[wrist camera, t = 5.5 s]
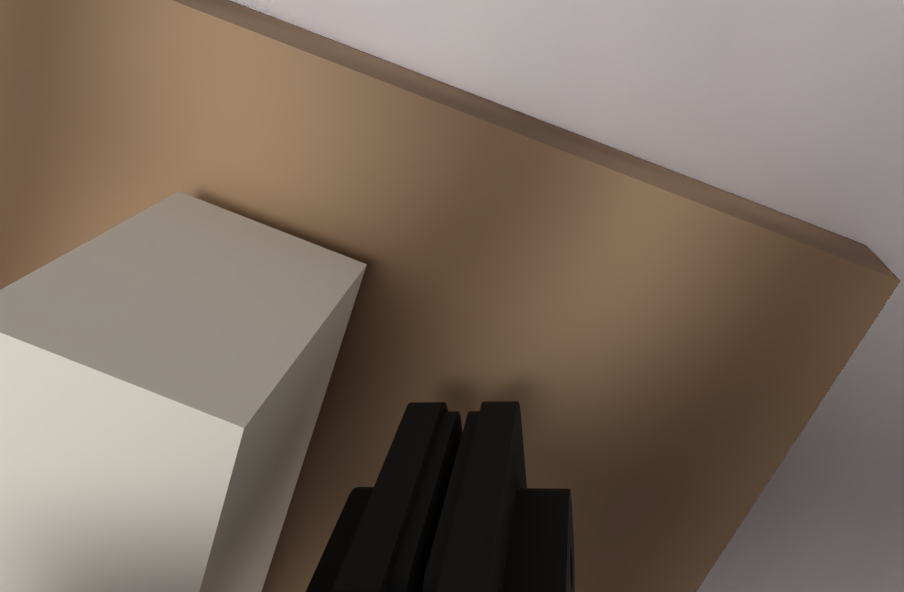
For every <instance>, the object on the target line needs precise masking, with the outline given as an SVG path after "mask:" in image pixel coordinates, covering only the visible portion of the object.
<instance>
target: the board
mask: <svg viewBox="0 0 904 592" xmlns="http://www.w3.org/2000/svg"><path fill="white" fill-rule="evenodd" d="M177 192H182V193H185V194H187V195H190V196H192V197H195V198H197V199H200V200H203V201H205V202H208V203H210V204H213V205H215V206H218V207H221V208H223V209H226V210H228V211H231V212H233V213H236V214H239V215H241V216H244V217H246V218H249V219H251V220H254V221H257V222H259V223H262V224H264V225H267V226H269V227H272V228H275V229H277V230H280V231H282V232H285V233H287V234H290V235H293V236H295V237H298V238H300V239H303V240H305V241H308V242H311V243H313V244H316V245H318V246H321V247H323V248H326V249H329V250H331V251H334V252H336V253H339V254H342V255H344V256H347V257H349V258H352V259H354V260H357V261H360V262H362V263H365V264H367V265H366V269H365V272H364V275H363V278H362V281H361V284H360V287H359V290H358V293H357V296H356V300H355V303H354V306H353V309H352V312H351V315H350V318H349V321H348V324H347V328H346V331H345V334H344V337H343V340H342V343H341V346H340V349H339V352H338V356H337V359H336V362H335V365H334V368H333V371H332V374H331V377H330V380H329V384H328V387H327V390H326V393H325V396H324V399H323V402H322V405H321V408H320V412H319V415H318V418H317V421H316V424H315V427H314V430H313V433H312V436H311V440H310V443H309V446H308V449H307V452H306V455H305V458H304V461H303V464H302V468H301V471H300V474H299V477H298V480H297V483H296V486H295V489H294V492H293V495H292V499H291V502H290V505H289V508H288V511H287V514H286V517H285V520H284V523H283V527H282V530H281V533H280V536H279V539H278V542H277V545H276V548H275V551H274V555H273V558H272V561H271V564H270V567H269V570H268V573H267V576H266V579H265V583H264V586H263V589H262V592H306V590H307V588H308V585H309V583H310V581H311V579H312V576H313V574H314V572H315V570H316V568H317V565H318V563H319V561H320V559H321V556H322V554H323V552H324V550H325V548H326V545H327V543H328V541H329V539H330V536H331V534H332V532H333V530H334V528H335V525H336V523H337V521H338V519H339V516H340V514H341V512H342V510H343V508H344V505H345V503H346V501H347V499H348V496H349V495H350V493H351V491H352V490H353V489H354V488H356V487H374V485H375V483H376V480H377V478H378V476H379V473H380V471H381V468H382V466H383V463H384V461H385V458H386V456H387V454H388V451H389V449H390V446H391V444H392V441H393V439H394V436H395V434H396V432H397V429H398V427H399V424H400V422H401V419H402V417H403V414H404V412H405V410H406V407H407V405H408V404H409V403H411V402H445V403H446V405H447V408H448V411H458V412H459V413H460V417H461V424H462V433H463V429H464V425H465V421H466V418H467V414H468V412H469V411H480V407H481V404H482V402H491V401H519V404H520V411H521V422H522V434H523V446H524V458H525V470H526V483H527V488H546V489H570V490H571V500H572V516H573V533H574V561H575V592H696V591H697V589H698V588H699V586H700V585H701V583H702V582H703V580H704V579H705V577H706V576H707V574H708V573H709V571H710V569H711V568H712V566H713V565H714V563H715V562H716V560H717V559H718V557H719V556H720V554H721V553H722V551H723V550H724V548H725V547H726V545H727V544H728V542H729V541H730V539H731V538H732V536H733V535H734V533H735V531H736V530H737V528H738V527H739V525H740V524H741V522H742V521H743V519H744V518H745V516H746V515H747V513H748V512H749V510H750V509H751V507H752V506H753V504H754V503H755V501H756V500H757V498H758V497H759V495H760V493H761V492H762V490H763V489H764V487H765V486H766V484H767V483H768V481H769V480H770V478H771V477H772V475H773V474H774V472H775V471H776V469H777V468H778V466H779V465H780V463H781V462H782V460H783V459H784V457H785V455H786V454H787V452H788V451H789V449H790V448H791V446H792V445H793V443H794V442H795V440H796V439H797V437H798V436H799V434H800V433H801V431H802V430H803V428H804V427H805V425H806V424H807V422H808V421H809V419H810V417H811V416H812V414H813V413H814V411H815V410H816V408H817V407H818V405H819V404H820V402H821V401H822V399H823V398H824V396H825V395H826V393H827V392H828V390H829V389H830V387H831V386H832V384H833V382H834V381H835V379H836V378H837V376H838V375H839V373H840V372H841V370H842V369H843V367H844V366H845V364H846V363H847V361H848V360H849V358H850V357H851V355H852V354H853V352H854V351H855V349H856V348H857V346H858V344H859V343H860V341H861V340H862V338H863V337H864V335H865V334H866V332H867V331H868V329H869V328H870V326H871V325H872V323H873V322H874V320H875V319H876V317H877V316H878V314H879V313H880V311H881V310H882V308H883V306H884V305H885V303H886V302H887V300H888V299H889V297H890V296H891V294H892V293H893V291H894V290H895V288H896V287H897V285H898V284H899V282H900V280H899V279H898V278H897V277H896V276H895V275H894V274H893V273H892V272H891V271H890V270H889V269H888V268H887V267H886V266H885V264H884V263H883V262H882V261H881V260H880V259H879V258H878V257H877V256H876V255H875V254H874V253H873V252H872V251H871V250H870V249H869V248H868V247H867V246H866V245H863V244H861V243H858V242H856V241H853V240H850V239H848V238H845V237H843V236H840V235H837V234H835V233H832V232H830V231H827V230H824V229H822V228H819V227H817V226H814V225H811V224H809V223H806V222H804V221H801V220H798V219H796V218H793V217H791V216H788V215H785V214H783V213H780V212H778V211H775V210H772V209H770V208H767V207H765V206H762V205H759V204H757V203H754V202H752V201H749V200H746V199H744V198H741V197H739V196H736V195H733V194H731V193H728V192H726V191H723V190H720V189H718V188H715V187H713V186H710V185H707V184H705V183H702V182H700V181H697V180H694V179H692V178H689V177H687V176H684V175H681V174H679V173H676V172H674V171H671V170H668V169H666V168H663V167H661V166H658V165H655V164H653V163H650V162H648V161H645V160H642V159H640V158H637V157H635V156H632V155H629V154H627V153H624V152H622V151H619V150H616V149H614V148H611V147H609V146H606V145H603V144H601V143H598V142H596V141H593V140H590V139H588V138H585V137H583V136H580V135H577V134H575V133H572V132H570V131H567V130H564V129H562V128H559V127H557V126H554V125H551V124H549V123H546V122H544V121H541V120H538V119H536V118H533V117H531V116H528V115H525V114H523V113H520V112H518V111H515V110H512V109H510V108H507V107H505V106H502V105H500V104H497V103H494V102H492V101H489V100H487V99H484V98H481V97H479V96H476V95H474V94H471V93H468V92H466V91H463V90H461V89H458V88H455V87H453V86H450V85H448V84H445V83H442V82H440V81H437V80H435V79H432V78H429V77H427V76H424V75H422V74H419V73H416V72H414V71H411V70H409V69H406V68H403V67H401V66H398V65H396V64H393V63H390V62H388V61H385V60H383V59H380V58H377V57H375V56H372V55H370V54H367V53H364V52H362V51H359V50H357V49H354V48H351V47H349V46H346V45H344V44H341V43H338V42H336V41H333V40H331V39H328V38H325V37H323V36H320V35H318V34H315V33H312V32H310V31H307V30H305V29H302V28H299V27H297V26H294V25H292V24H289V23H286V22H284V21H281V20H279V19H276V18H273V17H271V16H268V15H266V14H263V13H260V12H258V11H255V10H253V9H250V8H247V7H245V6H242V5H240V4H237V3H234V2H232V1H229V0H0V290H1V289H3V288H4V287H6V286H8V285H10V284H12V283H13V282H15V281H17V280H19V279H21V278H23V277H24V276H26V275H28V274H30V273H32V272H33V271H35V270H37V269H39V268H41V267H43V266H44V265H46V264H48V263H50V262H52V261H53V260H55V259H57V258H59V257H61V256H62V255H64V254H66V253H68V252H70V251H72V250H73V249H75V248H77V247H79V246H81V245H82V244H84V243H86V242H88V241H90V240H92V239H93V238H95V237H97V236H99V235H101V234H102V233H104V232H106V231H108V230H110V229H111V228H113V227H115V226H117V225H119V224H121V223H122V222H124V221H126V220H128V219H130V218H131V217H133V216H135V215H137V214H139V213H141V212H142V211H144V210H146V209H148V208H150V207H151V206H153V205H155V204H157V203H159V202H160V201H162V200H164V199H166V198H168V197H170V196H171V195H173V194H175V193H177Z"/></svg>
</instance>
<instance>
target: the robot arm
mask: <svg viewBox="0 0 904 592" xmlns="http://www.w3.org/2000/svg"><path fill="white" fill-rule="evenodd" d="M306 592H575V561H574V533H573V516H572V500H571V490H570V489H546V488H527V483H526V470H525V458H524V446H523V434H522V422H521V411H520V404H519V401H491V402H482V404H481V407H480V411H469V412H468V414H467V418H466V421H465V425H464V429H463V433H462V424H461V417H460V413H459V412H458V411H448V408H447V405H446V403H445V402H411V403H409V404H408V405H407V407H406V410H405V412H404V414H403V417H402V419H401V422H400V424H399V427H398V429H397V432H396V434H395V436H394V439H393V441H392V444H391V446H390V449H389V451H388V454H387V456H386V458H385V461H384V463H383V466H382V468H381V471H380V473H379V476H378V478H377V480H376V483H375V485H374V487H356V488H354V489H353V490H352V491H351V493H350V495H349V496H348V499H347V501H346V503H345V505H344V508H343V510H342V512H341V514H340V516H339V519H338V521H337V523H336V525H335V528H334V530H333V532H332V534H331V536H330V539H329V541H328V543H327V545H326V548H325V550H324V552H323V554H322V556H321V559H320V561H319V563H318V565H317V568H316V570H315V572H314V574H313V576H312V579H311V581H310V583H309V585H308V588H307V590H306Z"/></svg>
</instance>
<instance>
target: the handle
mask: <svg viewBox="0 0 904 592" xmlns="http://www.w3.org/2000/svg"><path fill="white" fill-rule="evenodd" d="M366 265H367V264H365V263H362V262H360V261H357V260H354V259H352V258H349V257H347V256H344V255H342V254H339V253H336V252H334V251H331V250H329V249H326V248H323V247H321V246H318V245H316V244H313V243H311V242H308V241H305V240H303V239H300V238H298V237H295V236H293V235H290V234H287V233H285V232H282V231H280V230H277V229H275V228H272V227H269V226H267V225H264V224H262V223H259V222H257V221H254V220H251V219H249V218H246V217H244V216H241V215H239V214H236V213H233V212H231V211H228V210H226V209H223V208H221V207H218V206H215V205H213V204H210V203H208V202H205V201H203V200H200V199H197V198H195V197H192V196H190V195H187V194H185V193H182V192H177V193H175V194H173V195H171V196H170V197H168V198H166V199H164V200H162V201H160V202H159V203H157V204H155V205H153V206H151V207H150V208H148V209H146V210H144V211H142V212H141V213H139V214H137V215H135V216H133V217H131V218H130V219H128V220H126V221H124V222H122V223H121V224H119V225H117V226H115V227H113V228H111V229H110V230H108V231H106V232H104V233H102V234H101V235H99V236H97V237H95V238H93V239H92V240H90V241H88V242H86V243H84V244H82V245H81V246H79V247H77V248H75V249H73V250H72V251H70V252H68V253H66V254H64V255H62V256H61V257H59V258H57V259H55V260H53V261H52V262H50V263H48V264H46V265H44V266H43V267H41V268H39V269H37V270H35V271H33V272H32V273H30V274H28V275H26V276H24V277H23V278H21V279H19V280H17V281H15V282H13V283H12V284H10V285H8V286H6V287H4V288H3V289H1V290H0V592H262V589H263V586H264V583H265V579H266V576H267V573H268V570H269V567H270V564H271V561H272V558H273V555H274V551H275V548H276V545H277V542H278V539H279V536H280V533H281V530H282V527H283V523H284V520H285V517H286V514H287V511H288V508H289V505H290V502H291V499H292V495H293V492H294V489H295V486H296V483H297V480H298V477H299V474H300V471H301V468H302V464H303V461H304V458H305V455H306V452H307V449H308V446H309V443H310V440H311V436H312V433H313V430H314V427H315V424H316V421H317V418H318V415H319V412H320V408H321V405H322V402H323V399H324V396H325V393H326V390H327V387H328V384H329V380H330V377H331V374H332V371H333V368H334V365H335V362H336V359H337V356H338V352H339V349H340V346H341V343H342V340H343V337H344V334H345V331H346V328H347V324H348V321H349V318H350V315H351V312H352V309H353V306H354V303H355V300H356V296H357V293H358V290H359V287H360V284H361V281H362V278H363V275H364V272H365V269H366Z"/></svg>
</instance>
